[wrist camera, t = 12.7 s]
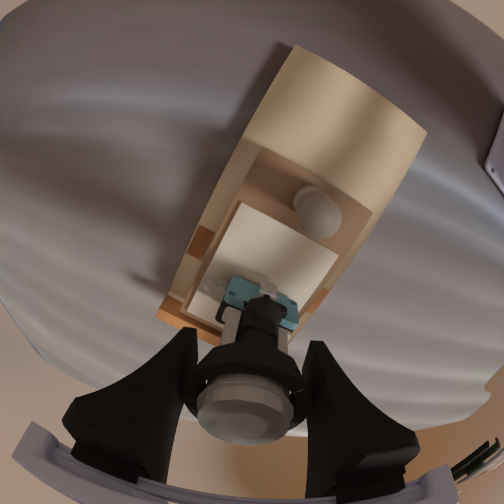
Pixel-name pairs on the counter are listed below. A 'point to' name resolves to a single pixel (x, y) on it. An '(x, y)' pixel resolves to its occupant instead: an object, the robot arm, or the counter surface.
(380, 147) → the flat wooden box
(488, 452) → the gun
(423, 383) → the counter surface
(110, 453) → the robot arm
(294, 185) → the carriage
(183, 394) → the push button
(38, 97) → the counter surface
